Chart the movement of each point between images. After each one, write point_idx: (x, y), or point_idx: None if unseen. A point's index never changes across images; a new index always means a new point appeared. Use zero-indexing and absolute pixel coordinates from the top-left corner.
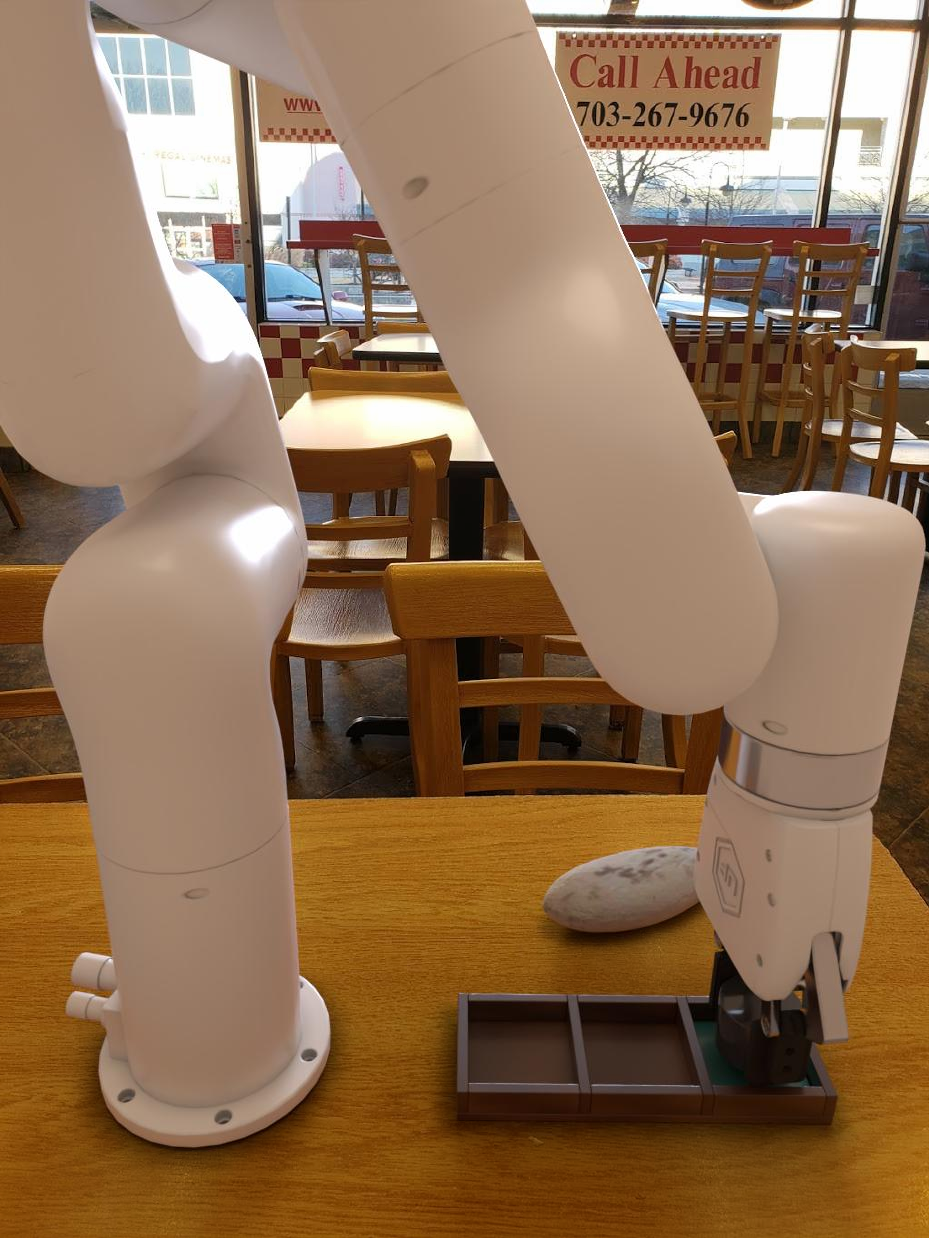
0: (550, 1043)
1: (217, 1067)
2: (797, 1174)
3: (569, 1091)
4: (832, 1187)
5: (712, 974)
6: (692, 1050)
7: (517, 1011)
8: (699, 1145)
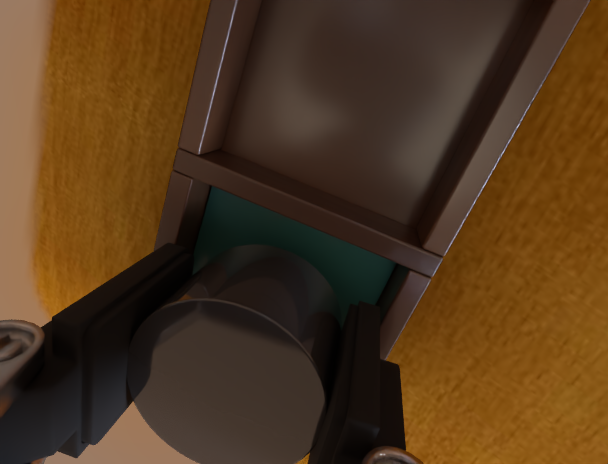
0: None
1: None
2: (104, 226)
3: None
4: (82, 255)
5: (379, 361)
6: (284, 195)
7: None
8: (174, 113)
